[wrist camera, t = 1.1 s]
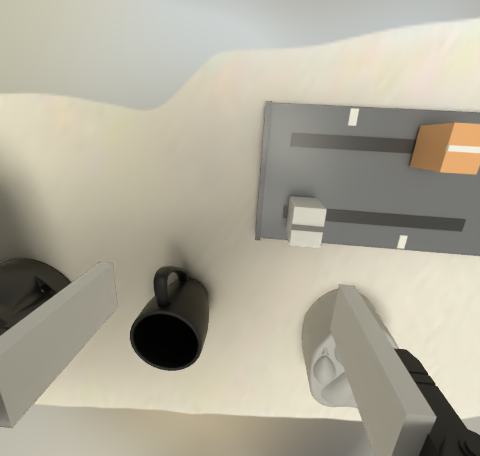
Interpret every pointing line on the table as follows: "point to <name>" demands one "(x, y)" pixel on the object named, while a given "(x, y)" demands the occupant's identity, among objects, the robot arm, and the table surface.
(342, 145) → the console
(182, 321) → the mug
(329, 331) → the lumpy-topped squat cylinder
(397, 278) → the table surface
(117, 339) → the table surface
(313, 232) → the fader
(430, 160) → the fader
